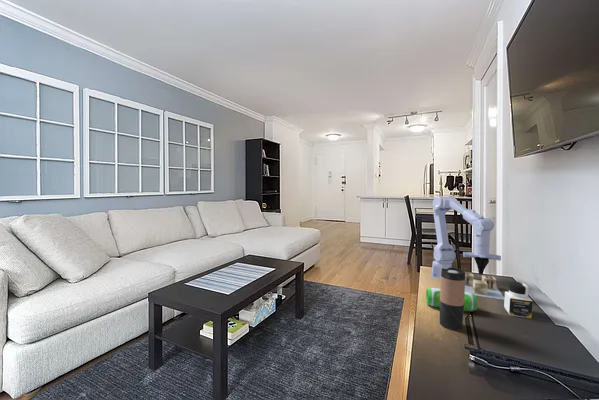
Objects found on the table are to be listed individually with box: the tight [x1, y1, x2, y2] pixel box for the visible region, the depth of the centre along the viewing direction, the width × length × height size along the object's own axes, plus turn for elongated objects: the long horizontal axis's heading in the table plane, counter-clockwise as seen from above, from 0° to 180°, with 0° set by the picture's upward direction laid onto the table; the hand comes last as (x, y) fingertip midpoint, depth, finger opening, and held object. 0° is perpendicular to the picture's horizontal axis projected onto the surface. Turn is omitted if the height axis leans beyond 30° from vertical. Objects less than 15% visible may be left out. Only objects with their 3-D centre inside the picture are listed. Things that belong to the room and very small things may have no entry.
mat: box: [465, 286, 505, 300], centre depth 135 cm, size 16×20×1 cm
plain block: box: [473, 278, 488, 295], centre depth 131 cm, size 5×5×5 cm
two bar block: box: [481, 274, 497, 290], centre depth 137 cm, size 5×5×5 cm
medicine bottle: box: [503, 281, 533, 319], centre depth 111 cm, size 7×7×12 cm
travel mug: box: [439, 267, 466, 331], centre depth 101 cm, size 8×8×20 cm
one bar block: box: [465, 272, 475, 286], centre depth 142 cm, size 5×5×5 cm
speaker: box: [425, 287, 478, 312], centre depth 115 cm, size 18×7×8 cm, turn 71°
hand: (480, 273), depth 131 cm, fingers closed
